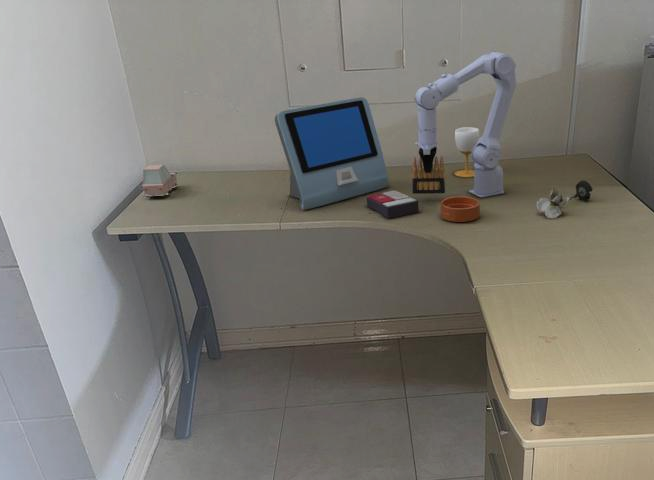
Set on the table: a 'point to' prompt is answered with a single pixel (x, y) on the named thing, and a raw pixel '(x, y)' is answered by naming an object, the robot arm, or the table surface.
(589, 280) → the table surface
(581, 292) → the table surface
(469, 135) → the cup
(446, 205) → the bowl
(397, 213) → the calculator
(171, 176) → the toy car
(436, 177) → the ammunition clip
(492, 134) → the robot arm
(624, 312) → the table surface
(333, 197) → the touchscreen device
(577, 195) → the artificial flower
